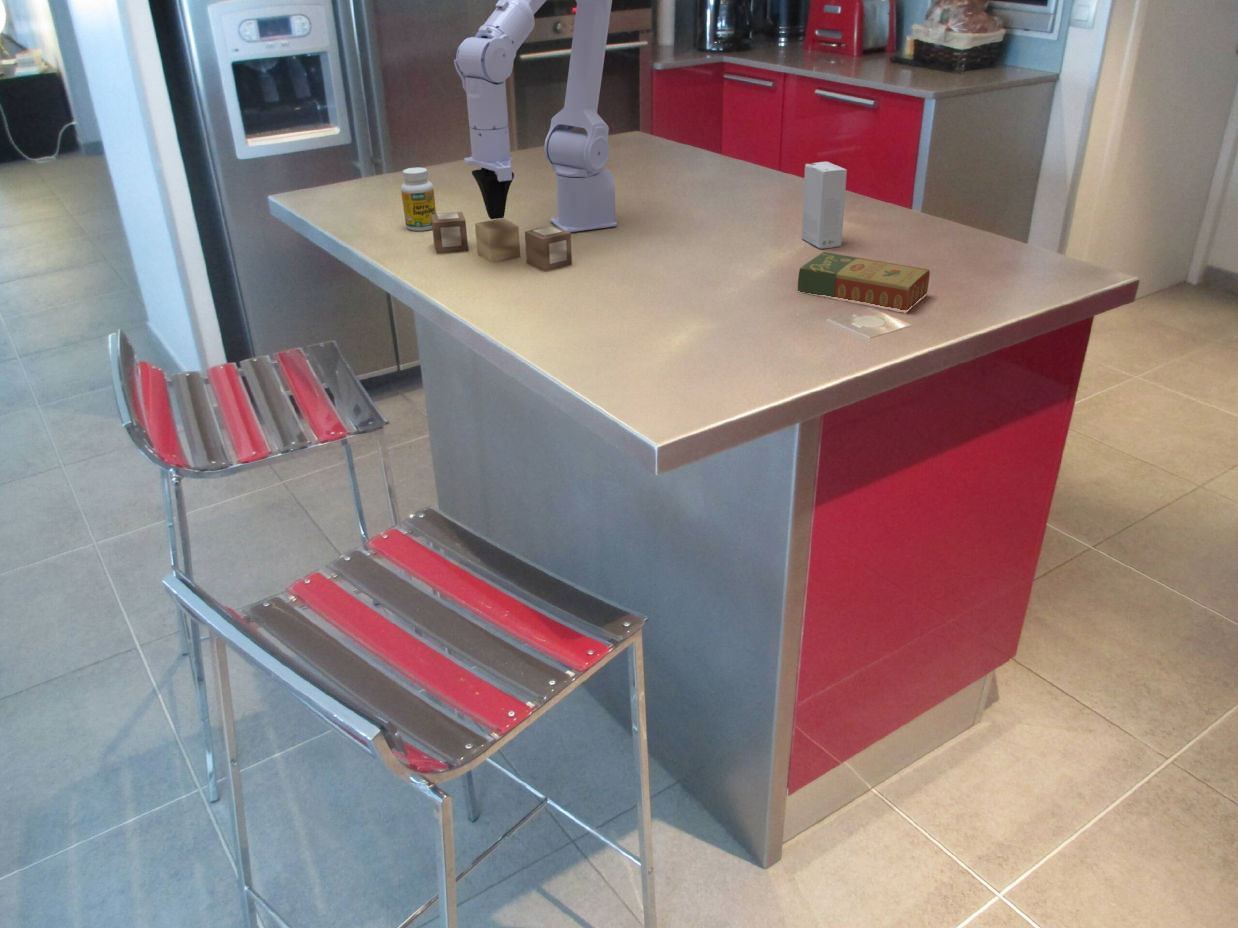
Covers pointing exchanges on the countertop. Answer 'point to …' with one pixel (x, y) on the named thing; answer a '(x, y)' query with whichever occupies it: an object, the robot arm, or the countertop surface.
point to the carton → (864, 280)
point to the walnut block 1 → (449, 232)
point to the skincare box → (823, 204)
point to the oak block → (497, 240)
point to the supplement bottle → (417, 199)
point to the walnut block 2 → (548, 248)
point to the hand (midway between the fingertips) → (496, 217)
